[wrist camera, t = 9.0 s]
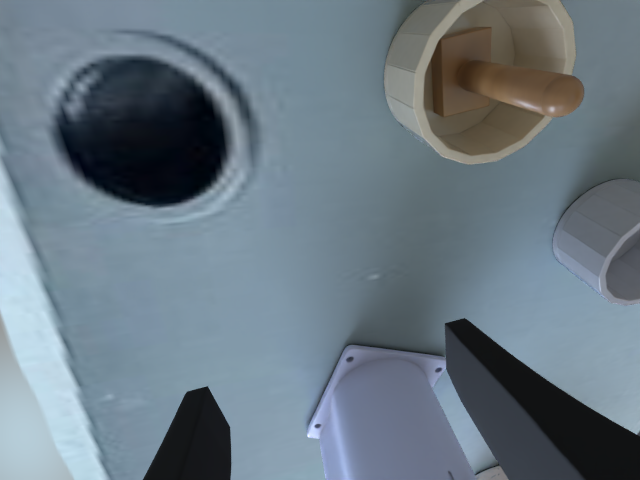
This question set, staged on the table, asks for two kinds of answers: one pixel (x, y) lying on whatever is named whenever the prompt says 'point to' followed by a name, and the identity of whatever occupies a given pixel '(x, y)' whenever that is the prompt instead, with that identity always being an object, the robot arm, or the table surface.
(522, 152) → the table surface
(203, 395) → the robot arm
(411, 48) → the cream cup
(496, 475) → the teacup with lid
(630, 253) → the grey cup
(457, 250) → the table surface
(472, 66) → the wooden wall peg
